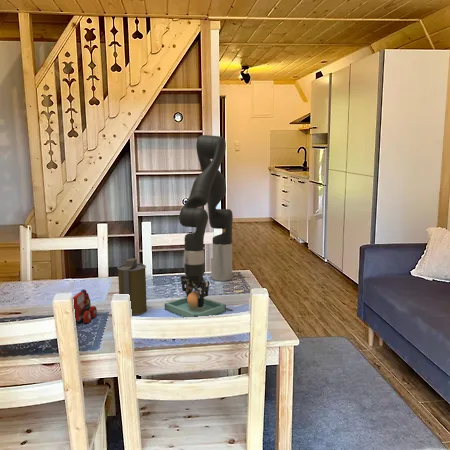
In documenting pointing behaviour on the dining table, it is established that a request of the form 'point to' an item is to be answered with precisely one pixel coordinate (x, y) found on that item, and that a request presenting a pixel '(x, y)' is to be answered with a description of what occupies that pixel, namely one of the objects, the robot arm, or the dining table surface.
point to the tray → (186, 310)
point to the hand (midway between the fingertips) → (195, 304)
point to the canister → (133, 284)
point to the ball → (193, 299)
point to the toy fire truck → (83, 307)
